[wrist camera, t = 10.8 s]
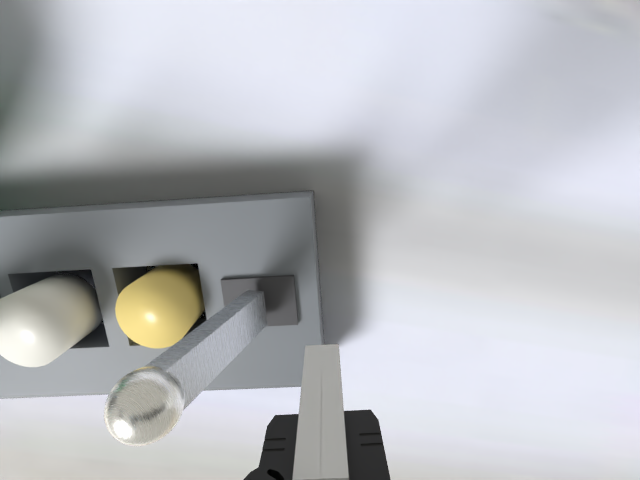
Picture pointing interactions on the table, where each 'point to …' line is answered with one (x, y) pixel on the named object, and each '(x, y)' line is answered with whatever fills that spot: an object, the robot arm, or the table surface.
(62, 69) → the table surface
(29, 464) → the table surface
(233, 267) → the panel
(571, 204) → the table surface
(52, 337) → the button ivory
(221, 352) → the lever
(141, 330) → the button mustard
